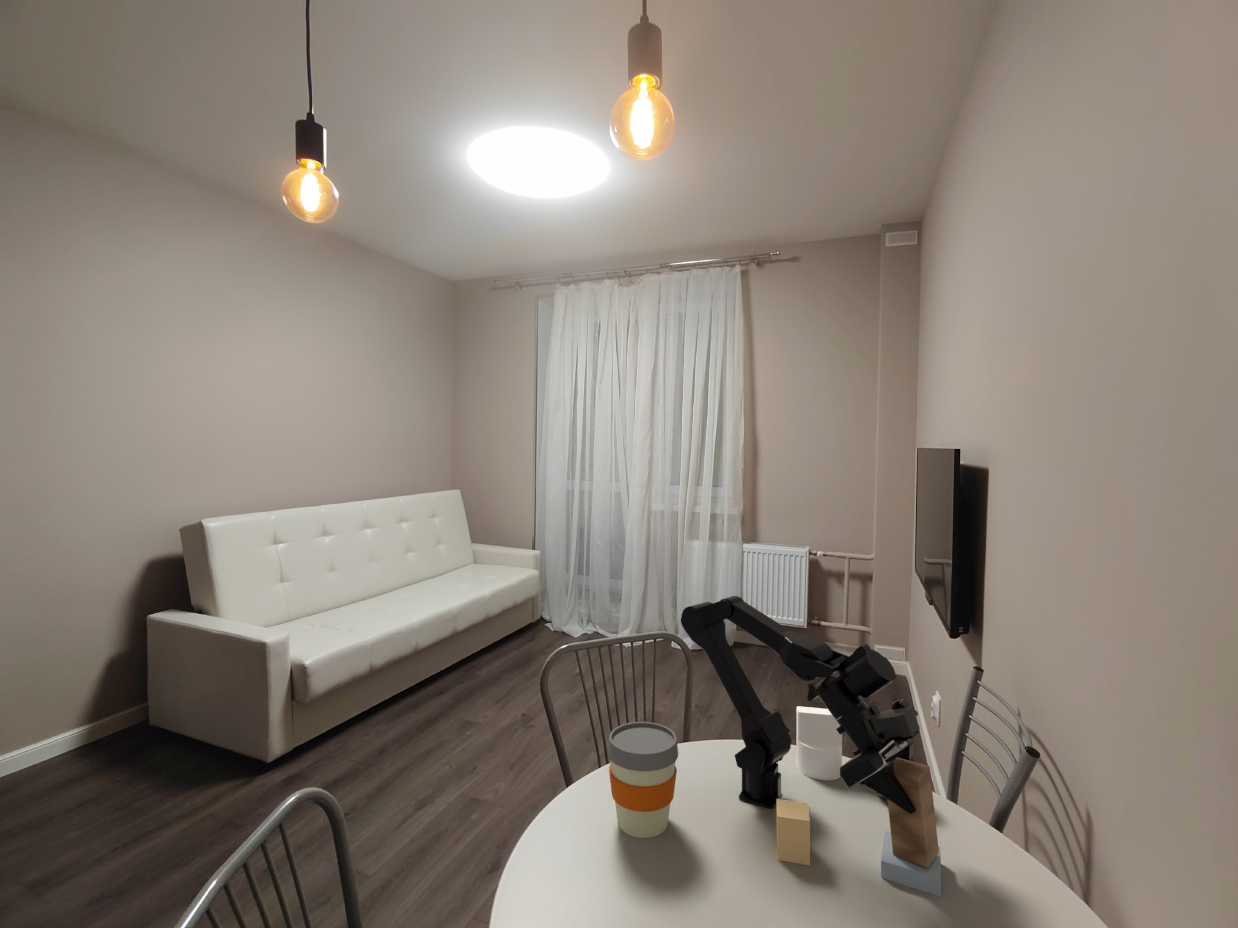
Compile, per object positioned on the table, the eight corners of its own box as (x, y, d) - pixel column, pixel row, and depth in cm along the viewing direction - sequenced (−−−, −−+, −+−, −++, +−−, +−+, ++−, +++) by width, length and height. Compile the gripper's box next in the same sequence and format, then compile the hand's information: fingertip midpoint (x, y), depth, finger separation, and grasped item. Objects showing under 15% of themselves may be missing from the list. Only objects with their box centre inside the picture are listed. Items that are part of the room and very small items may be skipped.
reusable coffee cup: (593, 819, 101) (593, 735, 101) (644, 792, 110) (644, 714, 110) (641, 855, 92) (641, 762, 92) (693, 823, 100) (693, 738, 100)
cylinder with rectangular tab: (798, 777, 115) (798, 718, 115) (794, 755, 124) (794, 700, 124) (845, 782, 113) (845, 722, 113) (838, 759, 122) (838, 704, 122)
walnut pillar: (893, 854, 88) (884, 768, 89) (905, 839, 92) (896, 757, 93) (927, 867, 85) (918, 778, 86) (938, 851, 88) (929, 765, 89)
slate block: (881, 879, 87) (881, 860, 87) (885, 849, 94) (885, 831, 94) (940, 899, 83) (940, 878, 83) (940, 865, 90) (940, 846, 90)
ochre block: (777, 859, 91) (777, 816, 91) (776, 839, 96) (776, 798, 96) (810, 865, 90) (809, 820, 90) (807, 844, 95) (807, 802, 95)
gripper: (859, 703, 85) (940, 809, 77) (906, 672, 98) (979, 760, 90) (810, 737, 91) (880, 839, 83) (860, 703, 104) (925, 789, 96)
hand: (919, 804), depth 88 cm, fingers open, 5 cm apart
